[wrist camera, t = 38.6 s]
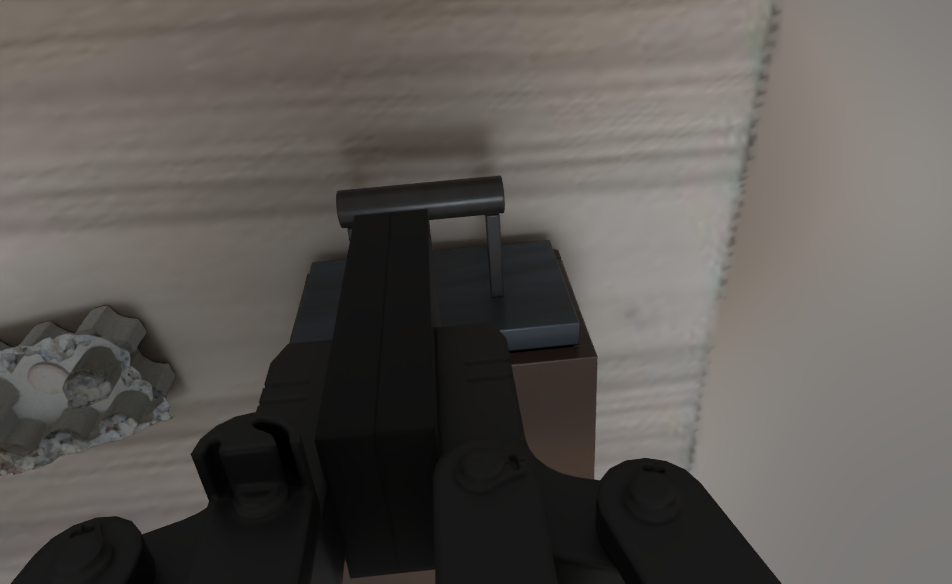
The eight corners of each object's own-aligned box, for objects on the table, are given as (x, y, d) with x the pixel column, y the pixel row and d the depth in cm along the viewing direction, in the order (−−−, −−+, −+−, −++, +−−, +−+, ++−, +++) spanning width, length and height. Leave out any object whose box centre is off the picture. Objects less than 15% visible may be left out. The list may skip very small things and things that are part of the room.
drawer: (288, 157, 33) (255, 230, 27) (548, 133, 34) (581, 199, 27) (361, 484, 45) (351, 592, 38) (553, 464, 45) (577, 568, 39)
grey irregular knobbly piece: (25, 432, 42) (-10, 483, 39) (-49, 334, 38) (-96, 381, 35) (193, 397, 42) (172, 446, 38) (135, 294, 38) (106, 337, 34)
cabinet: (307, 273, 38) (276, 388, 29) (558, 249, 38) (598, 356, 30) (358, 499, 47) (346, 635, 39) (560, 478, 47) (590, 608, 39)
